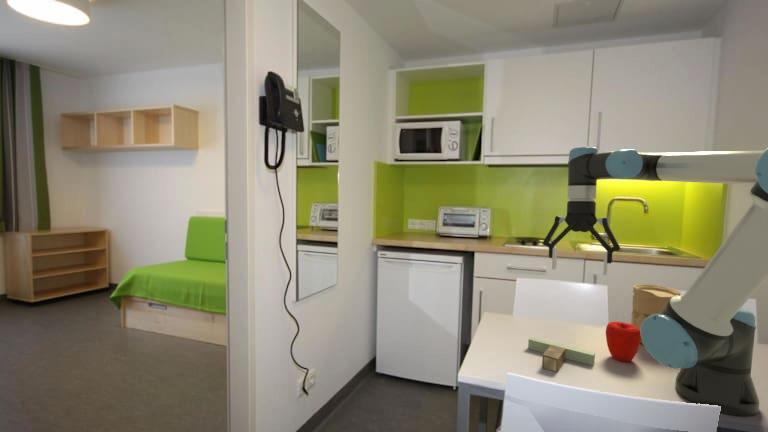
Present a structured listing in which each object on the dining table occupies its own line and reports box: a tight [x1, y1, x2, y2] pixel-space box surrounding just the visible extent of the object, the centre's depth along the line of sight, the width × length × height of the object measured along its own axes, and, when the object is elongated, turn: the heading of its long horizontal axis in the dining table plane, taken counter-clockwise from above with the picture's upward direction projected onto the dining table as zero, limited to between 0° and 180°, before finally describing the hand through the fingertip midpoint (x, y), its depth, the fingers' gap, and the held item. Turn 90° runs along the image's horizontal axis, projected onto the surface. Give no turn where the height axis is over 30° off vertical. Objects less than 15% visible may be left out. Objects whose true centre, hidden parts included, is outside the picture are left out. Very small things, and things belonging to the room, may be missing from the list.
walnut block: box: [541, 345, 566, 373], centre depth 107 cm, size 4×4×9 cm
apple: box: [605, 321, 642, 363], centre depth 111 cm, size 9×9×11 cm
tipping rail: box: [527, 336, 596, 366], centre depth 112 cm, size 18×2×3 cm, turn 53°
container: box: [630, 283, 681, 346], centre depth 124 cm, size 13×13×18 cm
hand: (578, 271), depth 111 cm, fingers open, 13 cm apart
